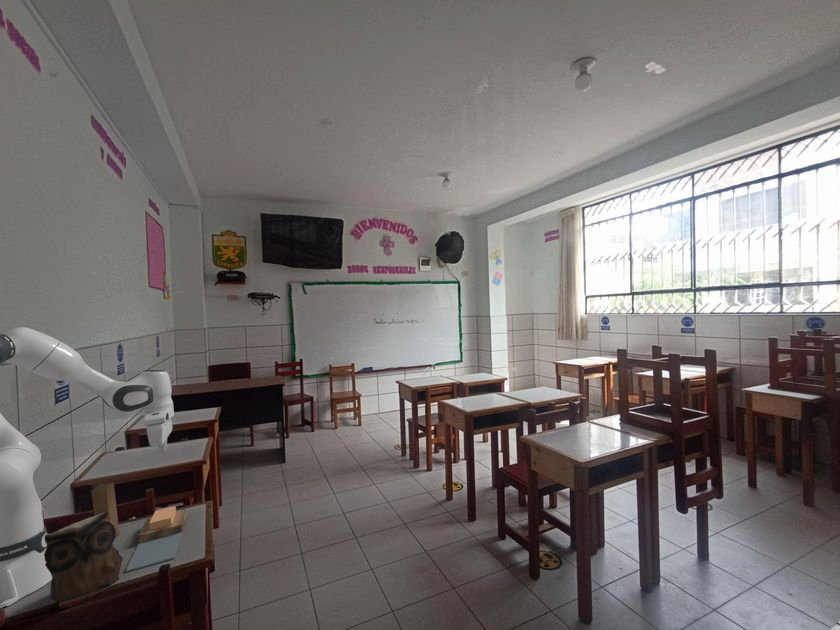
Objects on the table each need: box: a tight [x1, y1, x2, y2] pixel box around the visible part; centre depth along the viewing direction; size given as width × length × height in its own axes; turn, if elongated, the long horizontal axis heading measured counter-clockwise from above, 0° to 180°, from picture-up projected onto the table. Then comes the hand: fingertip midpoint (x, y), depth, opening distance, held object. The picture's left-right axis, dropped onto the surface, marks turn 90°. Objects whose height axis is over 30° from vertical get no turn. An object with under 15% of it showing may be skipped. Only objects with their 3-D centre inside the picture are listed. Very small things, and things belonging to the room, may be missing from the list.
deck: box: [137, 508, 188, 544], centre depth 134 cm, size 12×12×3 cm
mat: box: [124, 532, 183, 574], centre depth 122 cm, size 12×15×1 cm
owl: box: [44, 512, 124, 604], centre depth 105 cm, size 13×13×20 cm
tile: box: [149, 505, 177, 531], centre depth 134 cm, size 6×9×2 cm, turn 23°
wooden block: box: [91, 482, 120, 536], centre depth 131 cm, size 9×4×18 cm, turn 100°
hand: (163, 451), depth 143 cm, fingers closed
